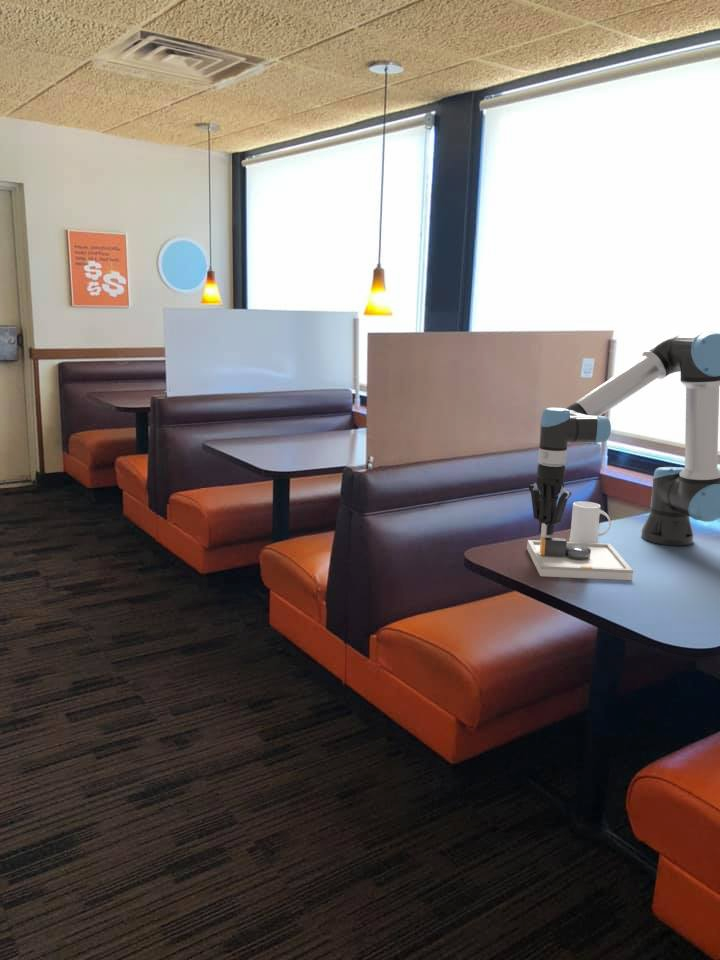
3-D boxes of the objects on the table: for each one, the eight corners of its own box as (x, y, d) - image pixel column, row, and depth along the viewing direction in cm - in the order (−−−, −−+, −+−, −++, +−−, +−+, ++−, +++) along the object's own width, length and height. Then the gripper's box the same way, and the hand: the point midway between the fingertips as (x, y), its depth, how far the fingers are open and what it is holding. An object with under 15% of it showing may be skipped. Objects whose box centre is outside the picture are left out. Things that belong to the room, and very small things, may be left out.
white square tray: (609, 552, 225) (610, 542, 224) (631, 580, 201) (633, 569, 201) (526, 549, 226) (527, 539, 226) (540, 576, 203) (541, 565, 202)
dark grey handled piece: (587, 552, 217) (588, 537, 216) (592, 559, 210) (594, 544, 209) (538, 549, 217) (539, 535, 216) (542, 557, 211) (543, 542, 210)
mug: (611, 543, 234) (615, 505, 232) (603, 550, 227) (607, 511, 225) (574, 536, 241) (577, 499, 238) (565, 542, 234) (568, 505, 231)
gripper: (524, 461, 214) (518, 541, 219) (563, 469, 205) (556, 553, 210) (540, 458, 219) (534, 537, 224) (579, 466, 210) (572, 548, 215)
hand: (544, 545), depth 217 cm, fingers closed
